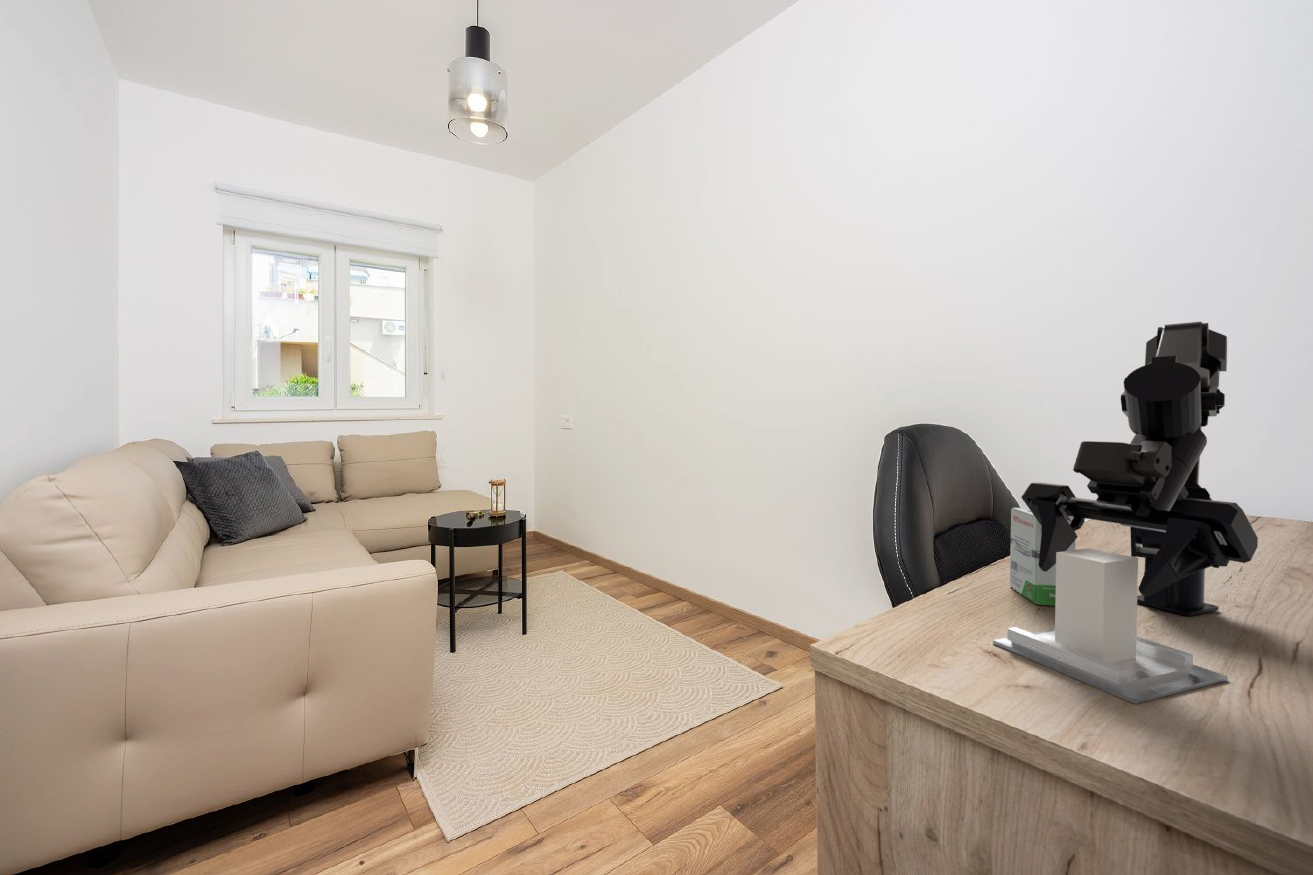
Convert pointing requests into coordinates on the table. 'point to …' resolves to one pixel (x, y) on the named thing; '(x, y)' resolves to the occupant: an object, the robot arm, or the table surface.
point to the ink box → (1030, 559)
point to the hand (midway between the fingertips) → (1088, 580)
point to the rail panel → (1116, 666)
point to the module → (1097, 603)
